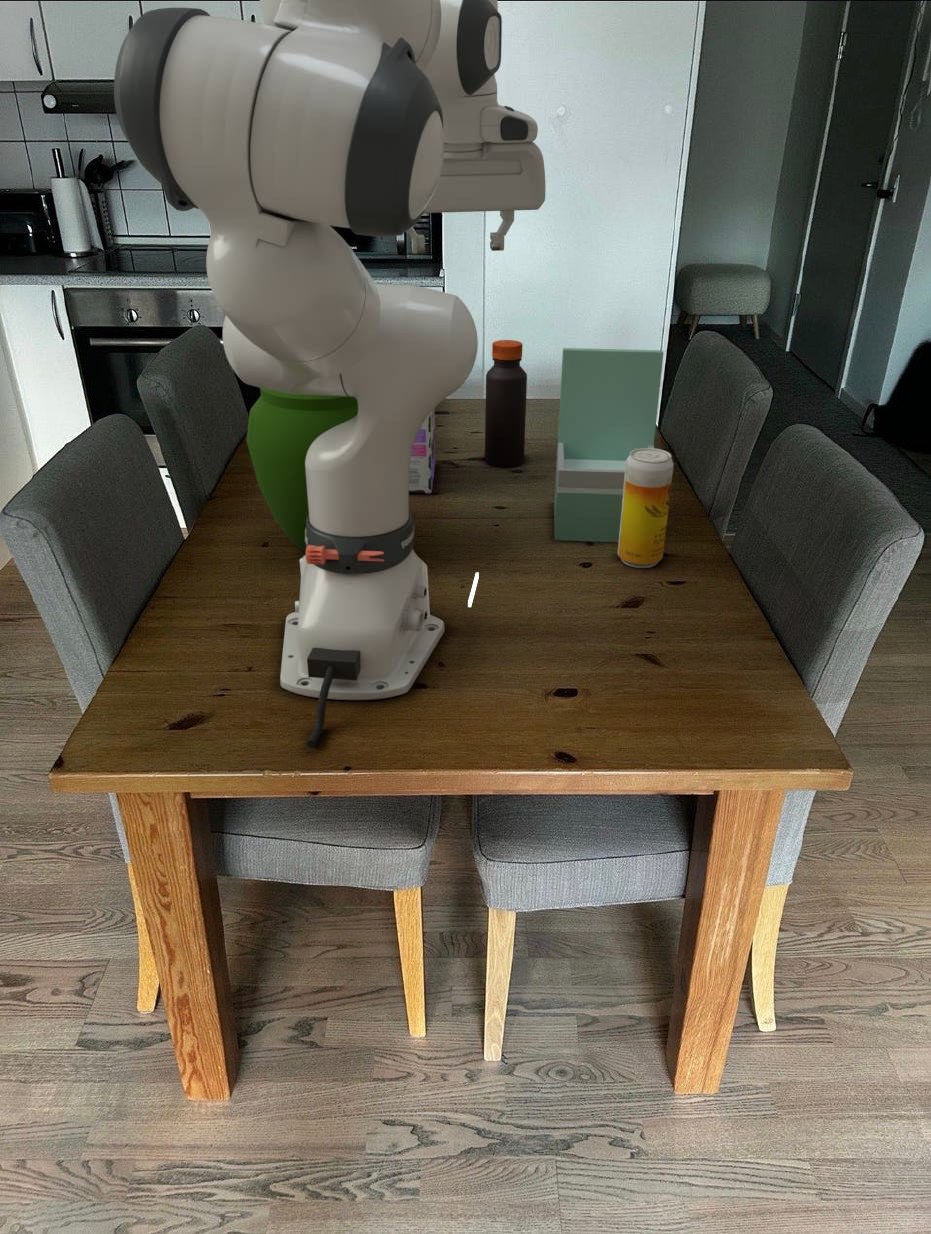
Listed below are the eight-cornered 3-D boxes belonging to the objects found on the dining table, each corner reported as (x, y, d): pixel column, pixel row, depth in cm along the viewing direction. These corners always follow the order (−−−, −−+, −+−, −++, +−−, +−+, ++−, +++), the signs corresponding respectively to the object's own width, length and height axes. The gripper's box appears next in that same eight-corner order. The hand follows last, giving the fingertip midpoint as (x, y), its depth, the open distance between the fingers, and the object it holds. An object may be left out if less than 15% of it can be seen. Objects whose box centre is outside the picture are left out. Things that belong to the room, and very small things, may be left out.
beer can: (661, 571, 126) (674, 464, 119) (615, 567, 127) (625, 460, 120) (662, 552, 132) (674, 448, 124) (618, 548, 133) (628, 445, 125)
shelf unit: (654, 544, 134) (673, 374, 123) (554, 540, 135) (564, 371, 124) (645, 508, 146) (662, 350, 134) (554, 505, 146) (563, 348, 135)
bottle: (500, 470, 160) (503, 350, 150) (476, 459, 165) (478, 342, 155) (532, 462, 163) (536, 344, 154) (507, 451, 168) (510, 336, 159)
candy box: (432, 494, 150) (431, 391, 142) (395, 494, 150) (391, 391, 142) (436, 464, 162) (435, 368, 154) (401, 464, 162) (399, 367, 154)
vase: (376, 582, 123) (368, 396, 111) (235, 568, 127) (213, 386, 115) (413, 523, 140) (410, 357, 128) (288, 512, 143) (273, 349, 131)
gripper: (364, 127, 102) (371, 261, 110) (551, 124, 104) (545, 255, 112) (362, 119, 107) (369, 247, 115) (541, 116, 109) (536, 241, 117)
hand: (457, 251), depth 114 cm, fingers open, 8 cm apart
